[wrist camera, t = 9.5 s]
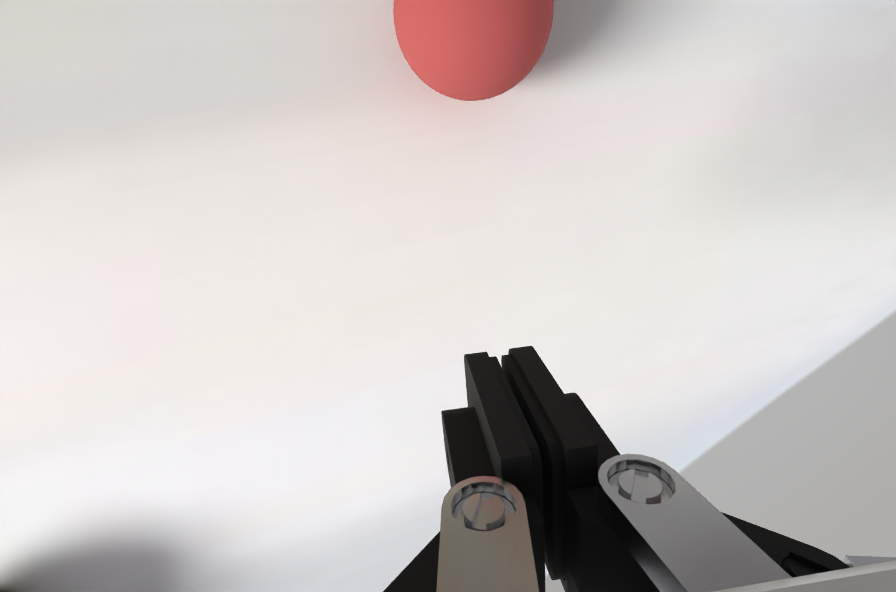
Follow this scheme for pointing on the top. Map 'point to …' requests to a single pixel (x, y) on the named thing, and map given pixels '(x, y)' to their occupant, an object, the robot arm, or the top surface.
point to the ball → (472, 43)
